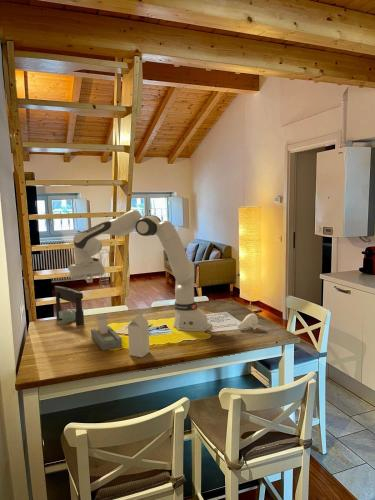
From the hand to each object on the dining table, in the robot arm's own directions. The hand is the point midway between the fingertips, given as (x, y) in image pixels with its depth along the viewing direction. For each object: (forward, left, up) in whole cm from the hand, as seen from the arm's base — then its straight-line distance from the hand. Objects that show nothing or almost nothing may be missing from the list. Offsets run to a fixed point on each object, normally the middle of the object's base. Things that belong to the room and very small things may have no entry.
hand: (90, 281), depth 209 cm
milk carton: (-47, +25, -28) cm, 60 cm away
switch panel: (-22, +17, -27) cm, 39 cm away
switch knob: (-18, +14, -24) cm, 33 cm away
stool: (+21, -5, -28) cm, 35 cm away
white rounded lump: (-88, -25, -28) cm, 95 cm away
